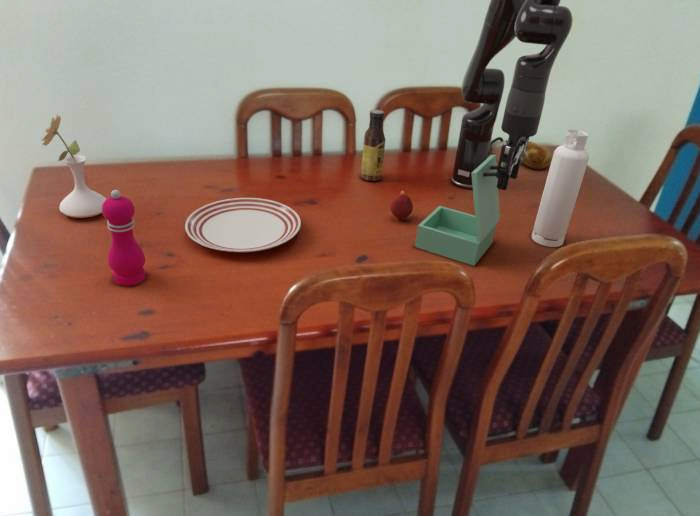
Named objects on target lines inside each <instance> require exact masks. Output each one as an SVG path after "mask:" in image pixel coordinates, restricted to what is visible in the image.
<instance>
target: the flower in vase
mask: <svg viewBox="0 0 700 516" xmlns="http://www.w3.org/2000/svg"><path fill="white" fill-rule="evenodd" d="M61 120H62V117H61V115H58V114H56V115H55V117H52V118H51V120H50V125H49V126H48V127H46V128H45V133H46V134H45V135H44V136H43V137H42V139H41V142H42V146H44V147H45V146H48V145H49V144H51V142H52V140H53V139H54V138H55V136H56V135H57V136H58V138H59V139H60V140H61V141H62V143H63V145H64V146H65V148H66V150H63V151H62V152H61V154H60V155H59V157H58V162H62V161H63V162H64V163H65V164H66V165H67V166H68V167H69V169H70V171H71V173H72V174H71V175H72V176H73V181H74V188H73V190H72V191H70V193H68V194H67V195H66V196H65V197H64V198H63V199H62V201H61V202H60V204H59V207H58V208H59V209H58V210H59V211H60V212H61V213H62V214H63V215H65V216H67V217H70V218H77V219H79V218H80V219H84V218H91V217H96V216H99V215H101V214H103V213H102V205H103V203H104V201H105V200H106V199H107V198H106V197H105V196H104V195H102V194H100V193H98V192H97V191H95V190H92V189H91V188H89V187H88V186H87V184H86V181H85V176H84V174H85V173H84V166H85V163H86V161H87V159H88V158H87V157H86V156H85V155H81V154H80V155H79V153H80V151H81V149H80V148H81V147H80V146H79V144H78V142H77V140H76V139H75V140H73V142H71V143H70V144H69V145H67V142H65V140H64V138H63V137H62V136H61V135H60V133H59V131H58V130H59V128H60V124H61V122H62V121H61ZM68 153H69V155H70V156H67V155H68Z"/></svg>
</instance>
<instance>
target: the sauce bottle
mask: <svg viewBox="0 0 700 516" xmlns="http://www.w3.org/2000/svg"><path fill="white" fill-rule="evenodd" d="M384 118H385V112H384V111H383V110H380V109H371V110H369V124H368V126H369V127H368V128H367V130H366V131H365V133H364V136H363V144H362V157H361V168H360V170H361V171H360V177H361V178H362V179H363V180H364V181H368V182H377V181H380V180H381V179H382V174H383V167H384V158H385V157H384V155H385V149H386V148H385V146H386V135H385V133H384V128H383V127H384V126H383V124H384V123H383V122H384Z"/></svg>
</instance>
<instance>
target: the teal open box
mask: <svg viewBox="0 0 700 516" xmlns="http://www.w3.org/2000/svg"><path fill="white" fill-rule="evenodd" d="M497 224H498V223H497ZM497 224H496V225H495V226H494V227H493V229H492V230H491V231H490V232H489V234H488V235H487V236H486V237H485V238H484V240H483V241H477V234H476V222H475V214H471V213H468V212H465V211H461V210H457V209H453V208H449V207H446V206H443V205H439V206H438V207H436V208H435V209H434V210H433V211H432V212H431V213H430V214H429V215H428V216H427V217H426V218H424V219H423V220H422V221H421V222H420V223H419V224H418V225H417V231H416V237H415V244H414V248H417V249H420V250H423V251H426V252H428V253H432V254H436V255H438V256H442V257H444V258H448V259H451V260H454V261H457V262H461V263H464V264H467V265H469V266H473V267H475V266H476V265H477V263H478V262H479V260H481V258H482V257H483V256H484V255H485V253H486V251H488V249H489V248H490V246H492V244H493V241H494V237H495V233H496V229H497Z"/></svg>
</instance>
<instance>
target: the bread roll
mask: <svg viewBox="0 0 700 516" xmlns="http://www.w3.org/2000/svg"><path fill="white" fill-rule="evenodd" d="M525 154H526V155H525V157H524V158H523V161H522V162H521V163H520V164H522V165H523V166H524V167H527V168H529V169H532V170H543V169H545V168H547V167H549V166H550V165H551V161H552V153H551V151H550V150H549V148H547V147H546V146H544V145H538V144H537V143H536V142H533V141H528V145H527V149H526V153H525Z"/></svg>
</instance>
